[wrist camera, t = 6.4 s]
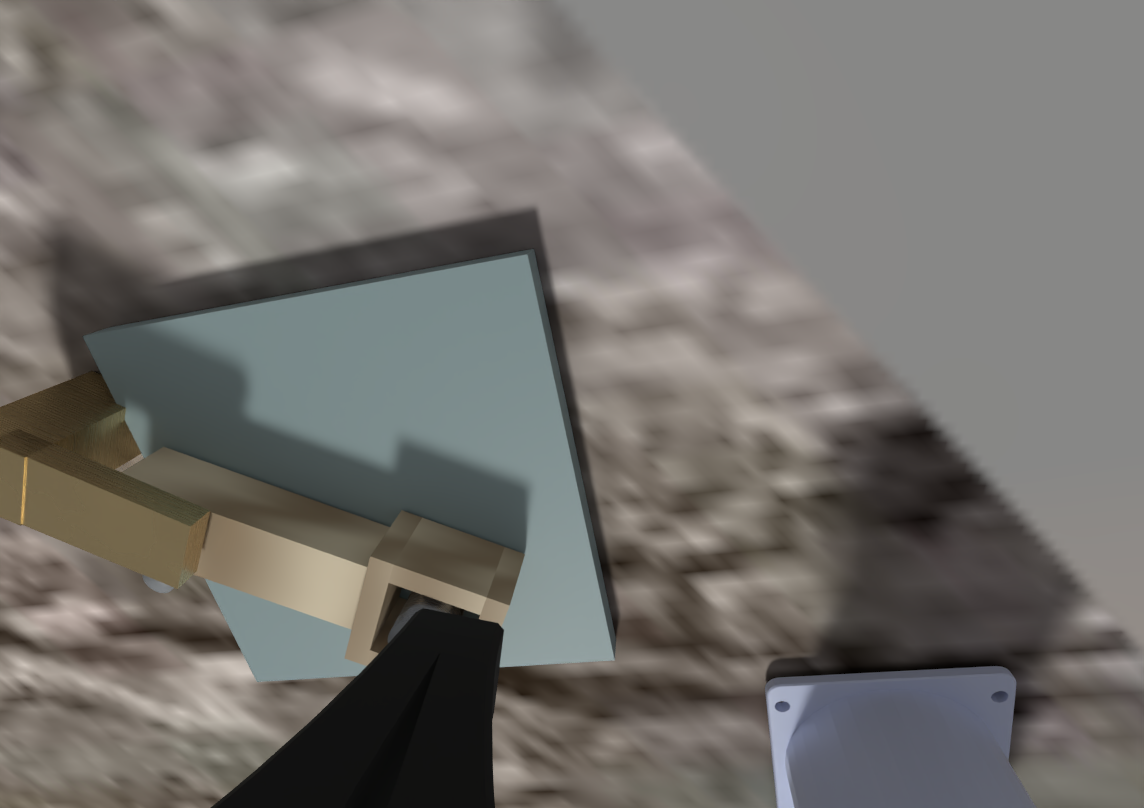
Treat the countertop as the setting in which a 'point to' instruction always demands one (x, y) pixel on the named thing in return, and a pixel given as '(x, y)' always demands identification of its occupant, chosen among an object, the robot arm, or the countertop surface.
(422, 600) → the cylinder
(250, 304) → the base board
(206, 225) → the countertop surface
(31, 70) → the countertop surface
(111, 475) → the keeper
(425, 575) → the link
